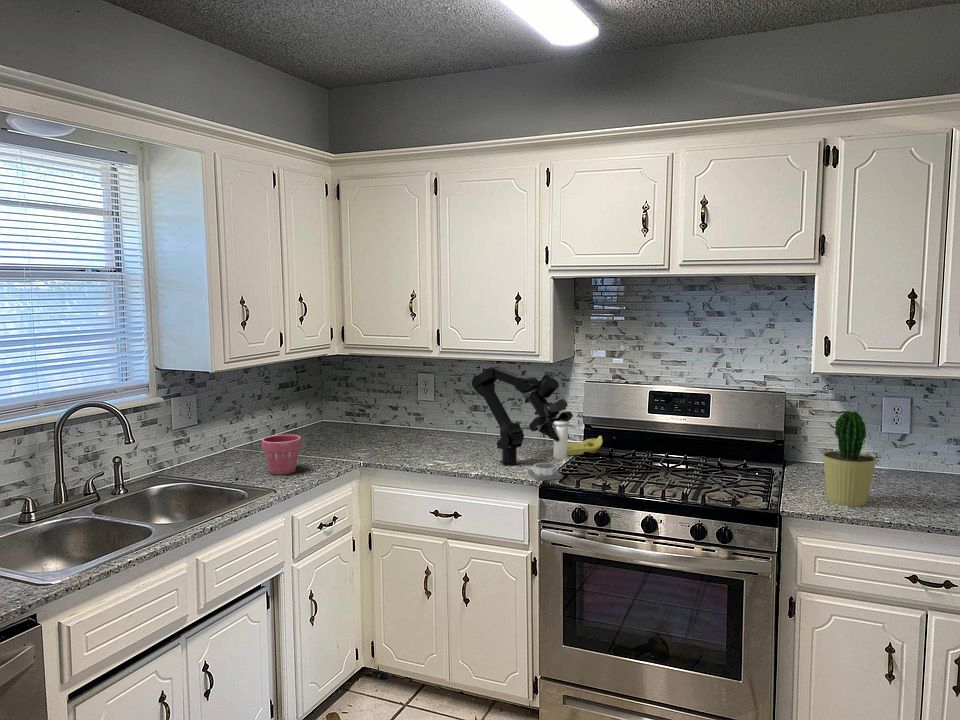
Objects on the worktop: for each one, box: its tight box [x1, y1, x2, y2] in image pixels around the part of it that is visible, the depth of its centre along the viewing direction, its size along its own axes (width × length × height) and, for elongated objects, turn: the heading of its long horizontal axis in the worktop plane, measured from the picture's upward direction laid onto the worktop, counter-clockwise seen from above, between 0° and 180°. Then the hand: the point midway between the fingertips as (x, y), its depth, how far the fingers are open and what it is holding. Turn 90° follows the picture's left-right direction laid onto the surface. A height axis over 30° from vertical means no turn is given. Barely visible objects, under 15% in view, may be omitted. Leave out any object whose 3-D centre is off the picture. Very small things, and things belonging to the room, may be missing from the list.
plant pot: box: [261, 434, 302, 475], centre depth 268 cm, size 14×14×13 cm
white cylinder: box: [552, 421, 569, 460], centre depth 261 cm, size 5×5×13 cm
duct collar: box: [527, 462, 563, 482], centre depth 262 cm, size 10×10×4 cm
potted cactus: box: [822, 410, 877, 507], centre depth 232 cm, size 15×15×30 cm
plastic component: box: [567, 435, 603, 456], centre depth 298 cm, size 20×7×10 cm
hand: (563, 439), depth 260 cm, fingers closed on white cylinder, 5 cm apart
